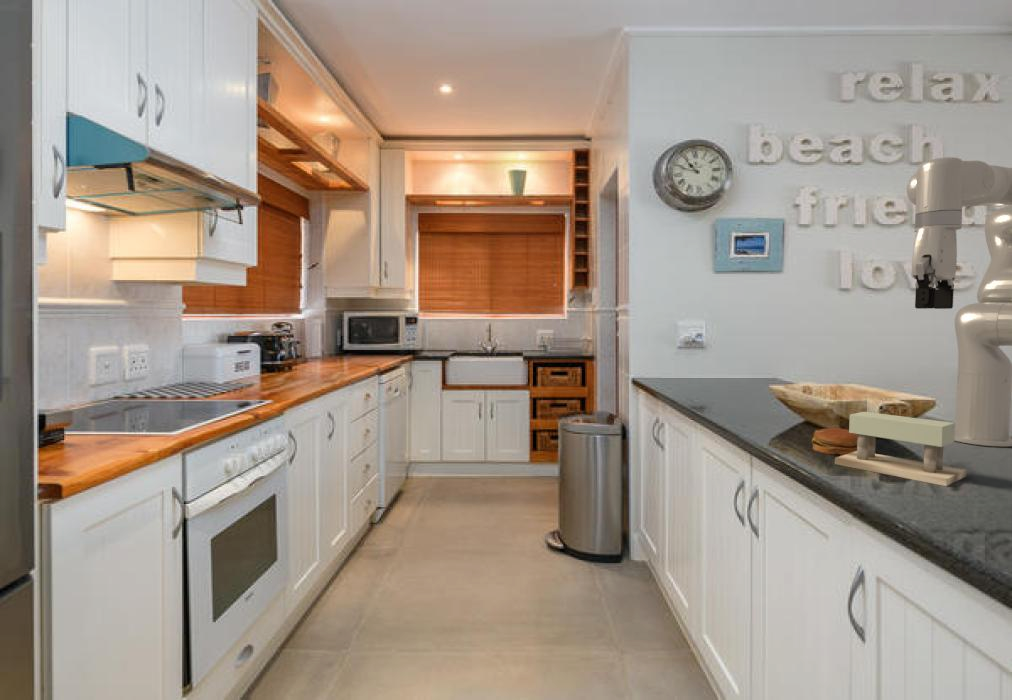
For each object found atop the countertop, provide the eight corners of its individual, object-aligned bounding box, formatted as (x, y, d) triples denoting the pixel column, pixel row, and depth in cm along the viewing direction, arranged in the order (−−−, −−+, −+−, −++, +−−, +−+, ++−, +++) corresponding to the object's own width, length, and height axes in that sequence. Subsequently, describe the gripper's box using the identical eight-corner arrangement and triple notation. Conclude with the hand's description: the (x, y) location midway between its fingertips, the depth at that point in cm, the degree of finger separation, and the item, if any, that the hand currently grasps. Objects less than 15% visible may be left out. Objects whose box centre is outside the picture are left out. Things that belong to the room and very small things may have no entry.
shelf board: (863, 428, 114) (863, 411, 114) (954, 442, 102) (954, 423, 102) (849, 432, 111) (849, 414, 111) (941, 446, 99) (942, 426, 98)
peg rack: (857, 456, 117) (858, 426, 117) (966, 476, 102) (967, 442, 102) (834, 463, 111) (835, 432, 111) (946, 486, 97) (947, 450, 96)
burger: (873, 457, 117) (873, 434, 117) (827, 457, 117) (828, 435, 117) (845, 446, 127) (845, 425, 127) (803, 446, 127) (803, 425, 127)
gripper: (931, 228, 122) (928, 308, 123) (898, 221, 112) (895, 308, 113) (975, 224, 116) (971, 308, 117) (944, 216, 106) (940, 308, 107)
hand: (934, 308), depth 115 cm, fingers open, 9 cm apart
